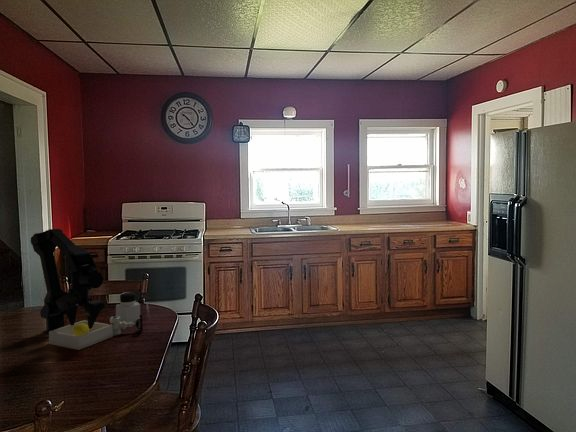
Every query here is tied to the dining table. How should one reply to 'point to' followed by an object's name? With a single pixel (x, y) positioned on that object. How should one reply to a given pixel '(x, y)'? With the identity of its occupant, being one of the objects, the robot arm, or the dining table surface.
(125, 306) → the medicine bottle
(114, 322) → the valve
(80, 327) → the lemon
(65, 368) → the dining table surface
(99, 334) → the walled box
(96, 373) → the dining table surface
